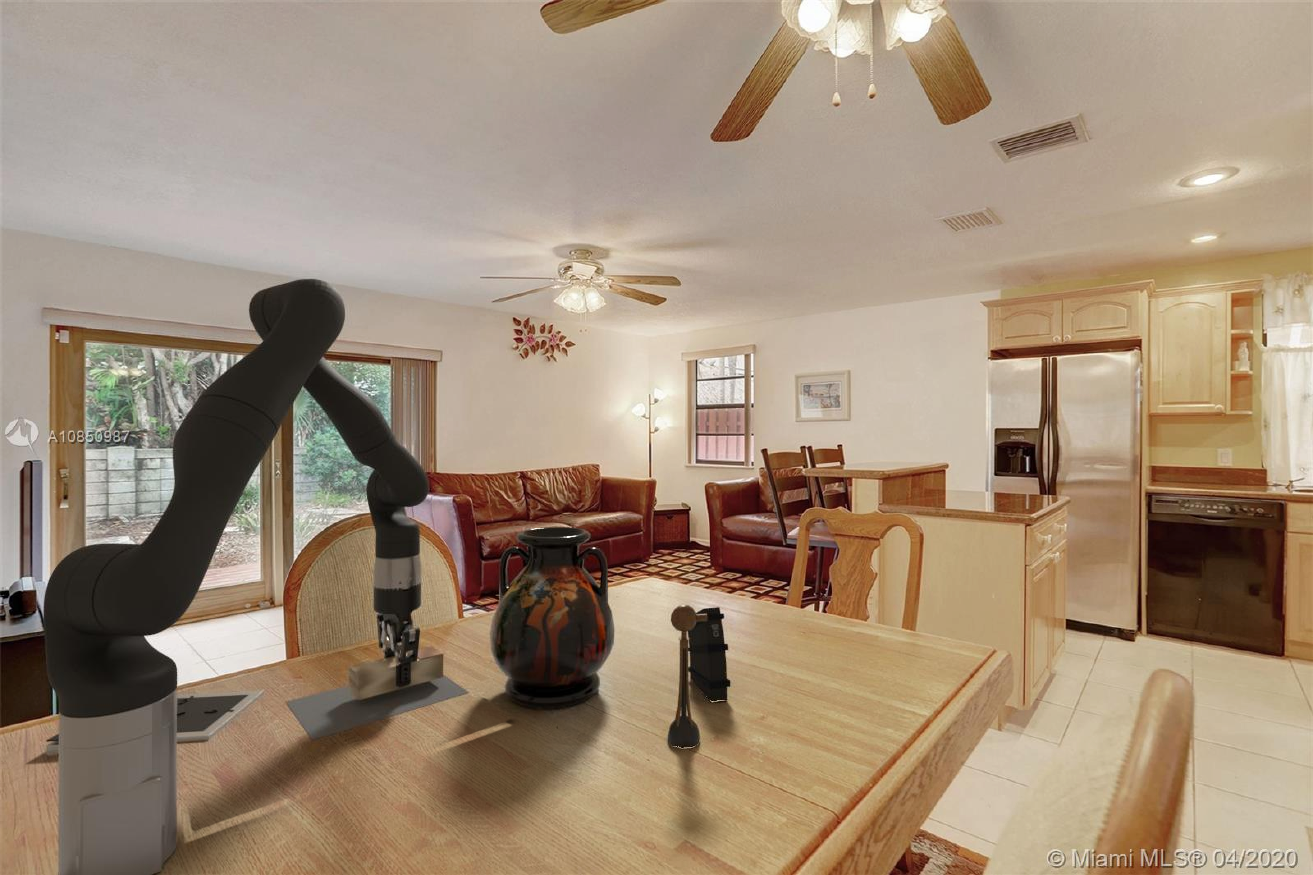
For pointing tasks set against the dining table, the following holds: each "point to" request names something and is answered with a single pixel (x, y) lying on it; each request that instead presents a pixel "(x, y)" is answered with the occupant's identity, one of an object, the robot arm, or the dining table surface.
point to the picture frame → (199, 715)
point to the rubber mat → (366, 706)
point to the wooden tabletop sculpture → (684, 681)
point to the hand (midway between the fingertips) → (397, 680)
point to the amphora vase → (552, 620)
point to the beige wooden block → (393, 673)
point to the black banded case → (709, 655)
